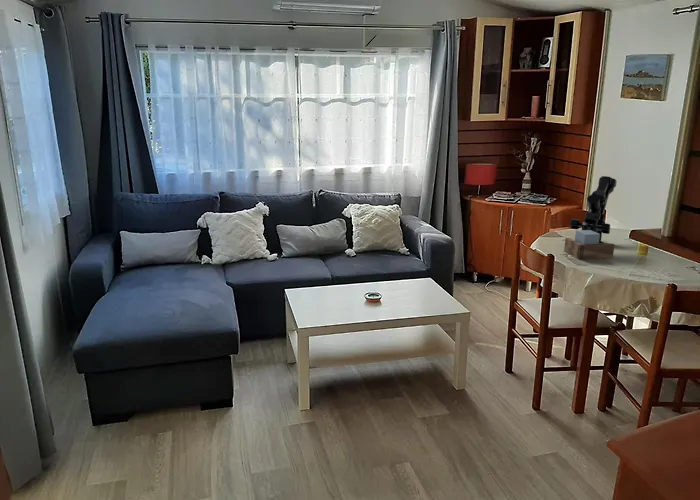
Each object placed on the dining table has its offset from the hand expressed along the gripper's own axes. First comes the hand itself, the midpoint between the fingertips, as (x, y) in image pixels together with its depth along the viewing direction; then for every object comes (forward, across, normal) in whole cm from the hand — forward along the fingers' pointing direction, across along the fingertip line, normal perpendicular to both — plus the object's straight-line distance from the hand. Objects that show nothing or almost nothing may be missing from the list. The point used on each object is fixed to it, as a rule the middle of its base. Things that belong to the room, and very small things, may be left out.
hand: (586, 240), depth 282 cm
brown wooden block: (+7, +2, +3) cm, 7 cm away
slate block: (+8, +1, +1) cm, 8 cm away
